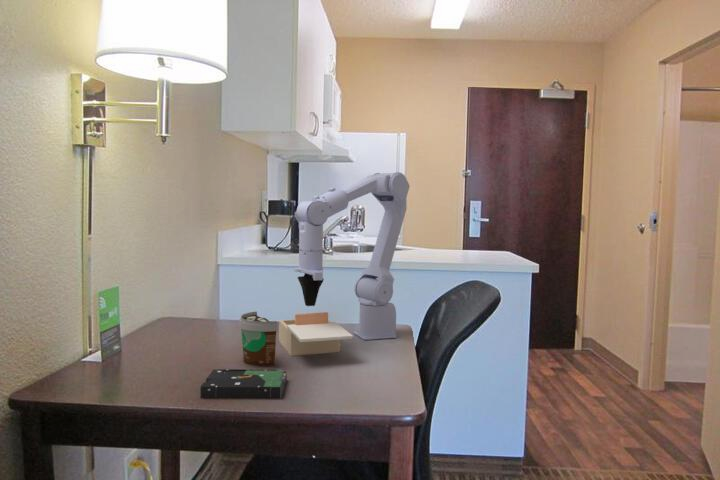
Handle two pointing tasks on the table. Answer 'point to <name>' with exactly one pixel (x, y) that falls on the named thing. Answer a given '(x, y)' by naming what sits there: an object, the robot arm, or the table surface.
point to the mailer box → (304, 348)
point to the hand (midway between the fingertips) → (310, 305)
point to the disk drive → (244, 384)
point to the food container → (258, 339)
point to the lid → (317, 328)
